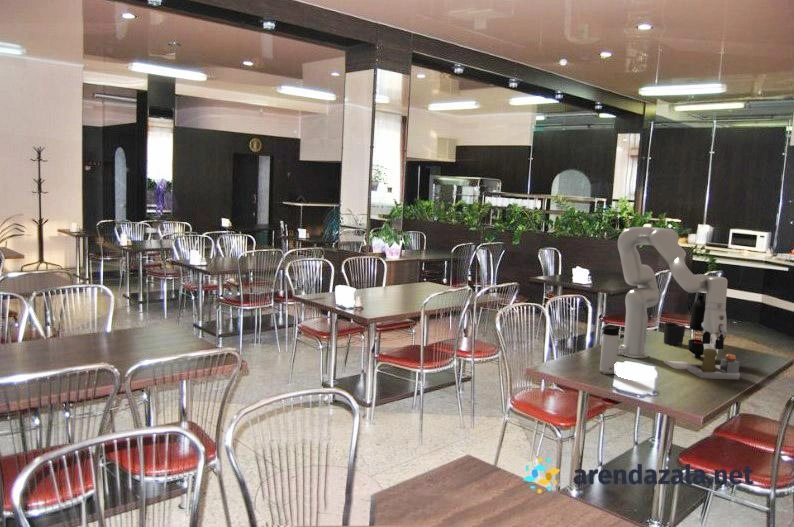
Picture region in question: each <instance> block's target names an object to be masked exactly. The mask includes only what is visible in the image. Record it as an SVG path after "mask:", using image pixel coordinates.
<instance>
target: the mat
mask: <svg viewBox="0 0 794 527" xmlns="http://www.w3.org/2000/svg"><path fill="white" fill-rule="evenodd" d="M663 363H664V364H666V365H667V366H670V367H671V368H672V369H676V370H679V369H680V370H687V364H690V363H689V362H687V361H674V360H663Z"/></svg>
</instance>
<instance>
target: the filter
mask: <svg viewBox="0 0 794 527" xmlns="http://www.w3.org/2000/svg"><path fill="white" fill-rule="evenodd" d="M705 304H706V300H705V298H704V296H703V295H699V296H698V300H696V301H694V302H693V303H692V305H691V314H690V322H689V323H690V324H689V329H690V330H693V331H694V332H695V333H694V338H693V339H689V340H688V350H689V352H690V353H691V354H693V355H694V358H695V359H701V357H702V356H704V355H703V351H704V350H703V343H702V341H701V340H702V338H701V337H703V334H702V332H703V331H702V325H701V323H702V322H703V321H704V314H705ZM696 336H697V337H696Z"/></svg>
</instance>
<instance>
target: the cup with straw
mask: <svg viewBox="0 0 794 527" xmlns="http://www.w3.org/2000/svg"><path fill="white" fill-rule="evenodd" d="M710 335H711V338H710V344H703V350H705V349H714V350H716V352H717V354H718V352H719V349H715V342H716V340H717V338H716V335H715V334H712V333H710ZM700 340H701V341H702V339H700ZM717 356H718V355H717ZM717 356H716V357H715V362H716V361H717Z"/></svg>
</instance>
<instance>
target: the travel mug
mask: <svg viewBox="0 0 794 527" xmlns="http://www.w3.org/2000/svg"><path fill="white" fill-rule="evenodd" d="M619 330H621V327H620V326H612V325H611V326H604V327H603V328H602V336H601V347H600V348H601V352H600V363H599V373H600V372H602V373H606V374H614V364H615V363H616V364H617V358H618V357H617V356H618V350H617V348H618V346H619V335H620V334H619V332H620V331H619ZM602 373H601V374H602ZM614 375H615V374H614Z"/></svg>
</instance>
